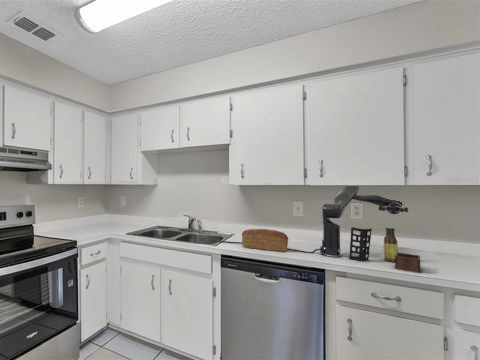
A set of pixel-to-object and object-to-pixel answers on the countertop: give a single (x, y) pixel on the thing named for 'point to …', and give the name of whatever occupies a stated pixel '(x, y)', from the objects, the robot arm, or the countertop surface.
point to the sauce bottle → (390, 245)
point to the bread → (265, 239)
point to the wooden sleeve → (407, 262)
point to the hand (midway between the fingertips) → (392, 209)
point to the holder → (362, 242)
